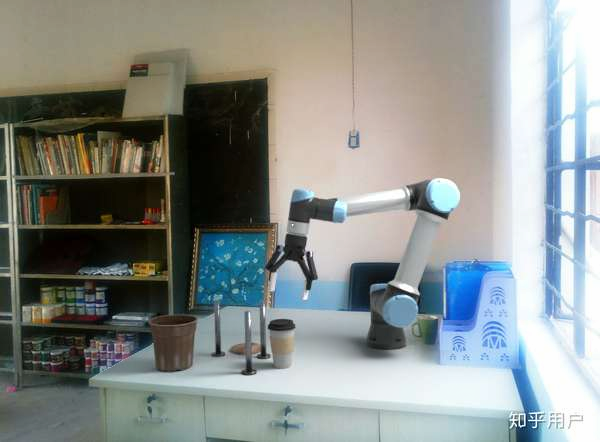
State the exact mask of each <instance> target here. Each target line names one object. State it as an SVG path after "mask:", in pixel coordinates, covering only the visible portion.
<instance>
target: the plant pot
mask: <svg viewBox="0 0 600 442" xmlns="http://www.w3.org/2000/svg"><path fill="white" fill-rule="evenodd" d="M198 320H199V317H197V316H195V315H191V314H166V315H160V316H155V317H152V318H151V319H149V320H148V324H149V327H150V333H151V335H152V343H153V344H152V345H153V353H154V362H155V363H154V364H155V368H156V369H157V370H158V371H160V372H164V373H165V372H166V373H167V372H169V373H172V372H176V371H177V370H178V371H185V370H187V369H190V368H191V367H193V364H194V362H193V360H194V349H195V335H196V331H197V322H198Z"/></svg>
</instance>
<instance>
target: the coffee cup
mask: <svg viewBox="0 0 600 442" xmlns="http://www.w3.org/2000/svg"><path fill="white" fill-rule="evenodd" d="M267 329H268V330H269V341H270V342H269V343H270V349H271V351H270V352H271V355H272V356H271V357H272V362H273V367H274V368H276V369H289V368H290V367H292V364H293V363H292V362H293V352H294V345H295V342H294V341H295V329H296V323H294V320H293V319H290V318H278V319H277V318H276V319H271V320H270V321H269V323H268V324H267Z"/></svg>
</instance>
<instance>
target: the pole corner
mask: <svg viewBox="0 0 600 442" xmlns="http://www.w3.org/2000/svg"><path fill="white" fill-rule="evenodd" d="M258 302H259V327H260V328H259V334H260V335H259V336H260V338H259V340H260V342H259V344H261V352H260V353H257V354H256V358H257V359H259V360H267V359H270V358H271V357H272V356H271V355H272V354H271V353H267V330H266V329H267V325H266V323H267V321H266V301H265V300H259V301H258Z"/></svg>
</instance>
